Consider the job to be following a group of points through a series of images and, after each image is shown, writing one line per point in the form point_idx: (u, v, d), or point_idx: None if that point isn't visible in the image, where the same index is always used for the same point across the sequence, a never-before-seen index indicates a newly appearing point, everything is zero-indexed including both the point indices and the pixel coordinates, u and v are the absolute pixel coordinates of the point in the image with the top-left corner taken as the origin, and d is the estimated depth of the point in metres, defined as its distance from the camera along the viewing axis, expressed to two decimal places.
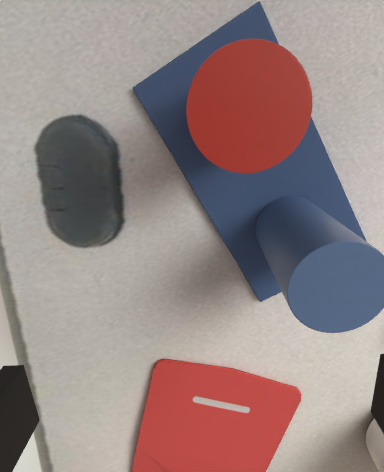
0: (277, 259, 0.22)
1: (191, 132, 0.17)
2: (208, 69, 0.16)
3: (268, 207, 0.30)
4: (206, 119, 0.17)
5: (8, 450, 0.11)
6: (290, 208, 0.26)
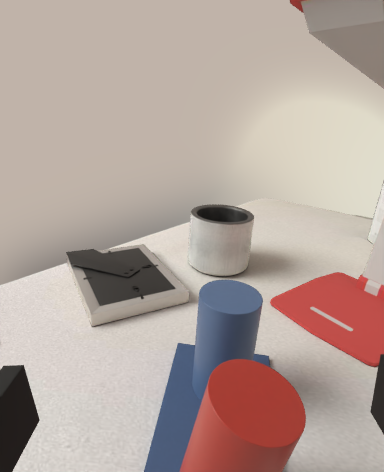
0: (251, 336, 0.31)
1: (304, 418, 0.20)
2: (272, 440, 0.18)
3: None
4: (289, 416, 0.20)
5: (8, 450, 0.11)
6: None
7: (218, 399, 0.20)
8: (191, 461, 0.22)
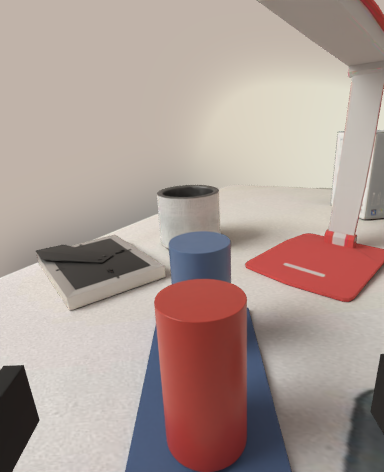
0: (224, 276, 0.32)
1: (245, 298, 0.22)
2: (215, 316, 0.20)
3: None
4: (231, 300, 0.22)
5: (8, 450, 0.11)
6: None
7: (164, 306, 0.21)
8: (163, 383, 0.23)
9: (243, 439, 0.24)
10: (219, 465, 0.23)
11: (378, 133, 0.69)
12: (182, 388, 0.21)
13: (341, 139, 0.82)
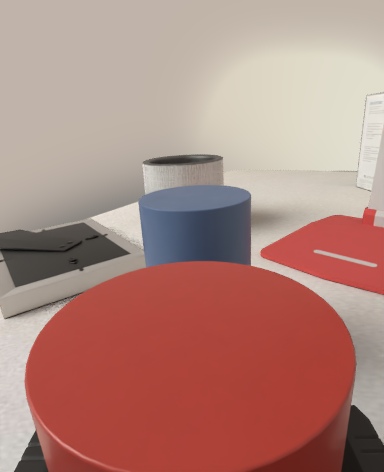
0: (241, 257, 0.17)
1: (344, 328, 0.06)
2: (255, 433, 0.04)
3: None
4: (298, 337, 0.06)
5: None
6: None
7: (59, 362, 0.06)
8: None
9: None
10: None
11: None
12: None
13: (371, 103, 0.67)
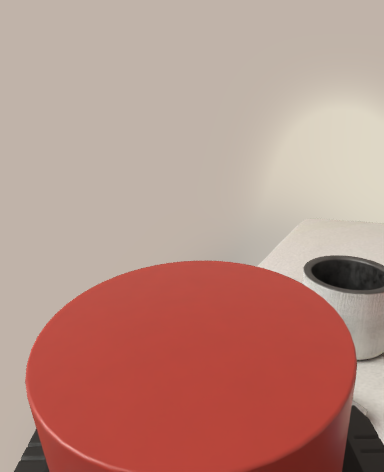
0: None
1: (345, 328, 0.06)
2: (256, 432, 0.04)
3: None
4: (299, 336, 0.06)
5: None
6: None
7: (59, 362, 0.06)
8: None
9: None
10: None
11: None
12: None
13: None
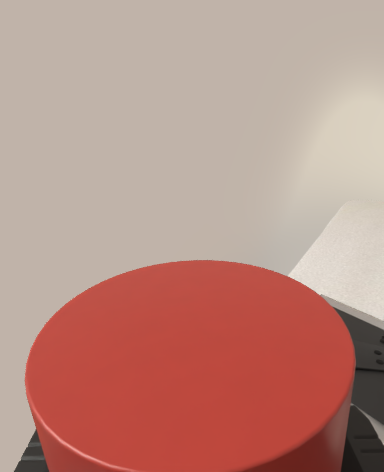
0: None
1: (344, 327, 0.06)
2: (255, 431, 0.04)
3: None
4: (298, 335, 0.06)
5: None
6: None
7: (59, 361, 0.06)
8: None
9: None
10: None
11: None
12: None
13: None
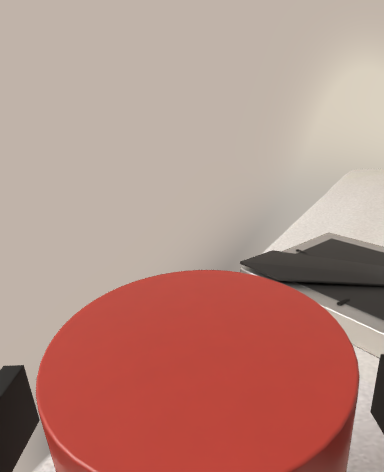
0: None
1: (347, 340, 0.06)
2: (262, 448, 0.04)
3: None
4: (303, 349, 0.06)
5: (8, 450, 0.11)
6: None
7: (68, 375, 0.06)
8: None
9: None
10: None
11: None
12: None
13: None
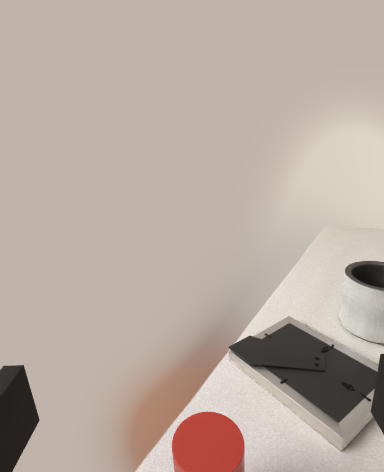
0: None
1: (243, 445, 0.28)
2: None
3: None
4: (232, 448, 0.28)
5: (8, 450, 0.11)
6: None
7: (180, 455, 0.28)
8: None
9: None
10: None
11: None
12: None
13: None
